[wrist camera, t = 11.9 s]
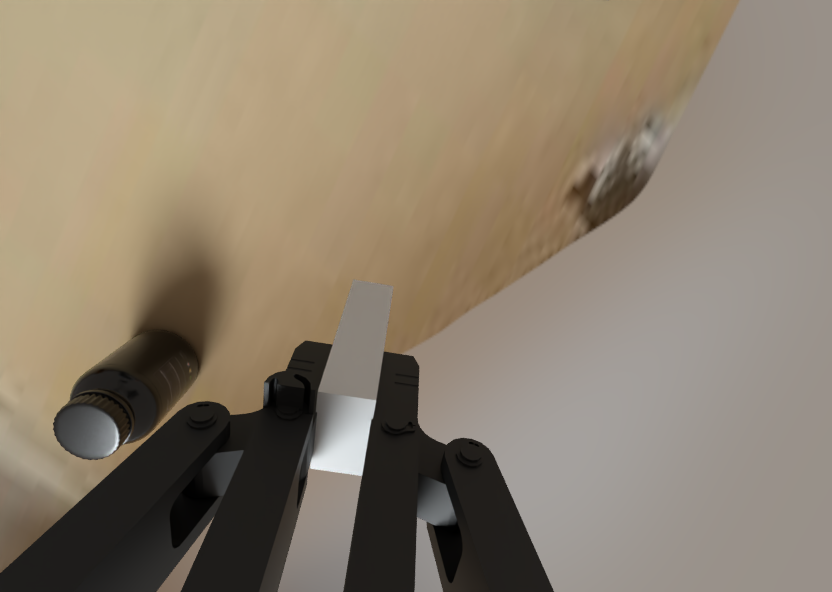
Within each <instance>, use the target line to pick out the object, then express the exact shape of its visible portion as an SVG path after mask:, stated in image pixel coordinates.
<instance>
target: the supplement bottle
mask: <svg viewBox="0 0 832 592" xmlns="http://www.w3.org/2000/svg"><path fill="white" fill-rule="evenodd" d="M197 373H198V361H197V357H196V355H195V352H194V351H193V349H192V347H191V346H190V345H189V344H188V343H187V342H186V341H185V340H184V339H182V338H181V337H179V336H178V335H176V334H174V333H171V332H168V331H163V330H151V331H146V332H143V333H141V334H139V335H137V336H135V337H134V338H132V339H131V340H129V341H128V342H127V343H125V344H124V345H123V346H121V347H120V348H118V349H117V350H116V351H114V352H113V353H111V354H110V355H109V356H107V357H106V358H105V359H103V360H102V361H100V362H99V363H98V364H96V365H95V366H94V367H92V368H91V369H89V370H88V371H87V372H85V373H84V374H83V375H82V376H81V377H80V378H79V379H78V380H77V381H76V383H75V384H74V386H73V388H72V391H71V395H70V401H69V402H68V403H67V404H66V405H65V406H63V407H62V408H61V410H60V411H59V412H58V413H57V415H56V417H55V418H54V421H55V422H54V423H53V425H54V428H53V430H54V432H55V436H56V438H57V441H58V442H59V443H60V445H61V446H62V447H64V449H65V450H66V451H69V452H70V453H71V454H73V455H75V456H76V457H81V458H82V459H88V460H92V459H94V460H98V459H103V458H104V457H108V456H110V455H111V454H113V453H114V452H115V451H116V450H117V449H118V448H119V447H120V446H121V445H123V444H129V443H133V442H136V441H138V440H141V439H142V438H144V437H146V436H147V435H148V434H149V433H151V432H152V431H153V430H154V429H155V427H156V426H157V425H158V424H159V423H160V422H161V421H162V419H163V418H164V417H165V416H166V415H167V414H168V413H169V411H170V410H171V409H172V408H173V407H174V406H175V404H176V403H177V402H178V401H179V400H180V399H181V398H182V396H183V395H184V394H185V393H186V392H187V391H188V389H189V388H190V387H191V386H192V384H193V383H194V381H195V379H196V377H197Z"/></svg>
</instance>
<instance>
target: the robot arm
mask: <svg viewBox="0 0 832 592" xmlns="http://www.w3.org/2000/svg"><path fill="white" fill-rule="evenodd" d="M392 293H393V286H390V285H384V284H378V283H371V282H365V281H359V280H353V283H352V286H351V289H350V292H349V295H348V298H347V301H346V305H345V308H344V311H343V314H342V317H341V320H340V323H339V327H338V330H337V333H336V336H335V339H334V342H333V345H331V344H325V343H318V342H312V341H304V342H303V343H302V344H301V345H299V346H298V347H297V348H295V351H294V353H293V355H292V357H291V361H290V362H289V364H288V367H287V369H286V371H282V372H277V373H275V374H273V375H271V376H269V377H268V378H267V380H266V381H265V382H264V402H263V409H261V410H259V411H256V412H253V413H247V414H238V415H230V413H229V411H228V410H227V408H226V407H225V406H223V405H221V404H219V403H215V402H210V401H205V402H196V403H193V404H190V405H187V406H186V407H184V408H183V409H181V410H179V411H178V412H177V413H176V414H175V415H174V416H173V417H172V418H171V419H169V420H168V421H167V422H166V423H165V424H164V425H163V426H162V427H161V428H160V429H158V430H157V431H156V432H155V433H154V434H153V435H152V436H151V437H150V438H149V439H147V440H146V441H145V442H144V443H143V444H142V445H141V446H140V447H139V448H138V449H136V450H135V451H134V452H133V453H132V454H131V455H130V456H129V457H128V458H127V459H125V460H124V461H123V462H122V463H121V464H120V465H119V466H118V467H117V468H116V469H114V470H113V471H112V472H111V473H110V474H109V475H108V476H107V477H106V478H105V479H103V480H102V481H101V482H100V483H99V484H98V485H97V486H96V487H95V488H94V489H92V490H91V491H90V492H89V493H88V494H87V495H86V496H85V497H84V498H83V499H81V500H80V501H79V502H78V503H77V504H76V505H75V506H74V507H73V508H72V509H70V510H69V511H68V512H67V513H66V514H65V515H64V516H63V517H62V518H61V519H59V520H58V521H57V522H56V523H55V524H54V525H53V526H52V527H51V528H50V529H49V530H47V531H46V532H45V533H44V534H43V535H42V536H41V537H40V538H39V539H38V540H36V541H35V542H34V543H33V544H32V545H31V546H30V547H29V548H28V549H27V550H25V551H24V552H23V553H22V554H21V555H20V556H19V557H18V558H17V559H16V560H14V561H13V562H12V563H11V564H10V565H9V566H8V567H7V568H6V569H5V570H3V571H2V572H1V573H0V592H156V591H157V590H158V589H159V587H160V586H161V585H162V583H163V582H164V581H165V580H166V578H167V577H168V576H169V574H170V573H171V572H172V570H173V569H174V567H176V565H177V564H178V562H179V561H180V560H181V559H182V558H183V556H184V555H185V554H186V552H187V551H188V550H189V548H190V547H191V546H192V544H193V543H194V542H195V541H196V539H197V538H198V536H199V535H200V534H201V533H202V531H203V530H204V529H205V527H206V526H207V525H208V524H209V522H210V521H211V520H212V518H213V517H214V519H213V521H212V523H211V525H210V527H209V530H208V532H207V534H206V536H205V539H204V541H203V543H202V545H201V548H200V550H199V552H198V554H197V557H196V559H195V561H194V563H193V565H192V568H191V570H190V572H189V575H188V577H187V579H186V581H185V583H184V586H183V588H182V590H181V592H277V591H278V587H279V584H280V580H281V576H282V573H283V569H284V565H285V562H286V558H287V554H288V551H289V547H290V544H291V540H292V536H293V533H294V529H295V525H296V522H297V518H298V514H299V511H300V507H301V503H302V499H303V496H304V493H305V489H306V485H307V476H308V469H309V466H310V462H311V466H310V468H311V469H318V470H325V471H332V472H339V473H346V474H353V475H361V476H362V480H361V486H360V492H359V498H358V504H357V510H356V517H355V523H354V529H353V535H352V541H351V548H350V554H349V561H348V566H347V573H346V579H345V585H344V591H343V592H414V588H415V558H416V528H417V517H418V518H420V519H422V520H425V521H426V522H427V529H428V533H429V537H430V541H431V545H432V549H433V553H434V557H435V561H436V565H437V569H438V572H439V576H440V581H441V584H442V588H443V592H554V591H553V588H552V586H551V584H550V582H549V579H548V577H547V575H546V573H545V570H544V568H543V566H542V564H541V561H540V559H539V557H538V555H537V552H536V550H535V548H534V546H533V543H532V541H531V539H530V537H529V535H528V532H527V530H526V528H525V525H524V523H523V521H522V519H521V516H520V514H519V512H518V510H517V508H516V505H515V503H514V501H513V498H512V496H511V494H510V492H509V489H508V487H507V485H506V483H505V480H504V478H503V476H502V474H501V471H500V469H499V467H498V465H497V462H496V460H495V458H494V456H493V454H492V453H491V451H490V450H489V448H487V447H486V446H485V445H483V444H482V443H480V442H478V441H476V440H473V439H467V438H460V439H455V440H453V441H451V442H450V443H448V444H447V445H445V444H443V443H440V442H438V441H436V440H434V439H432V438H430V437H429V436H428V435H426V434H425V433H424V432H423V431H422V429H421V428H420V426H419V424H418V418H417V415H418V389H419V388H418V386H419V365H418V364H417V362H416V360H415V358H414V357H413V356H408V355H402V354H396V353H389V352H384V346H385V339H386V332H387V326H388V319H389V313H390V306H391V299H392Z"/></svg>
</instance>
